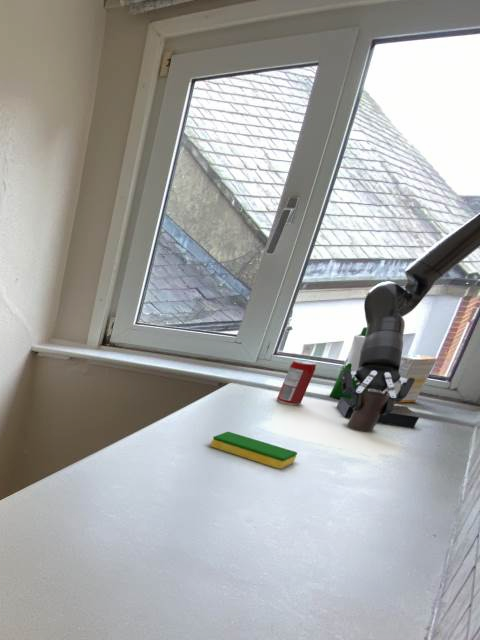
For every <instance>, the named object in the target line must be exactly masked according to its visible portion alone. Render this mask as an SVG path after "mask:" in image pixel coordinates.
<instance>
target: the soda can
mask: <svg viewBox="0 0 480 640" xmlns="http://www.w3.org/2000/svg"><path fill="white" fill-rule="evenodd" d="M316 366H317V363H316V362H315V361H311V360H306V359H294V360H293V361H292V362H291V364H290V365H289V368H288V370H287V373H286V376H285V377H284V380H283V383H282V385H281V388H280V390H279V393H278V395H277V397H276V399H277V401H278V402H279V403H281V404H285V405H289V406H290V405H291V406H297V405H300V404H302V401H303V399H304V397H305V394H306V392H307V390H308V388H309V385H310V382H311V380H312V378H313V375H314V374H315V371H316Z"/></svg>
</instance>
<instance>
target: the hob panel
mask: <svg viewBox="0 0 480 640" xmlns="http://www.w3.org/2000/svg"><path fill="white" fill-rule="evenodd" d="M350 405H351V399H350V398H343V397H341V399H340V398H339V401H338V402H337V405H336V409H337V410H338V411H339V413H340V414H341V415H342V417H343V418H345V419H346V418H347V419H350V418H351V416H352V414H353V411H354V410H353V408H351V406H350ZM419 418H420V416H418V415H417V414H416V413H415V412H413V411H412V410H411V409H410V408H409V407H408V406H403V405H397V404H394V407H393V410H392V411H391V412H390V413H388V414H386V415H382V413H381V415H380V417H379V419H378V421H377V423H378V424H384V425H389V426H390V425H391V426H396V427H402V428H409V429H415V426H416V424H417V422H418V421H419ZM377 423H376V424H377Z"/></svg>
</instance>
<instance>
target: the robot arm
mask: <svg viewBox="0 0 480 640" xmlns="http://www.w3.org/2000/svg"><path fill="white" fill-rule="evenodd" d="M479 248H480V212H479V213H477V214H476V215H475V216H474V217H472V218H471V219H470V220H468V221H466V222H465V223H464V224H462V225H461V226H459V227H458V228H456V229H455V230H453V231H452V232H450V233H449V234H447V235H446V236H444V237H443V238H441V239H440V240H439V241H437V242H436V243H434V244H433V245H432V246H431V247H429V248H428V249H427V250H426V251H425V252H423V253H422V254H421V255H420V256H419V257H418V258H417V259H416V260H414V261H413V262H412V263H410V265H408V266H407V267H406V269H405V271H404V274H405V276H406V279H407V282H406V283H405V285H404V286H403V287H402V285H400V284H399V283H397V282H394V281H383V282H379V283H378V284H376V285H375V286H373V287H372V288H371V289H370V290H368V293H367V294H366V296H365V298H364V303H363V304H364V305H363V309H364V317H365V321H366V327H367V329H366V335H365V340H364V343H363V345H362V349H361V351H360V360H359V365H358V370H357V371H351V370H349V369H346V370H345V371H344V372H343V373H342V374H341V376H340V377H341V384H342V390H343V394H349V395H351V396H352V399H351V405H350V406H351V408H353V410H356V411H357V410H358V409H359V408H360V406H361V400H362V394H361V393H362V391H363V390H364V389H365V388H366V389H375V390H380V393H383V394H386V395H388V396H390V397H389V399H388V401H387V403H386V405H385V407H384V409H383V411H382V415H386V414H388V413H390V412H391V411H392V410H393V407H394V405H395V403H394V402H395V401H396V403H401V402H400V401H401V400H402V399H403V398H405V397H406V396H407V394H408V392H409V390H410V388H411V387H412V385H413V383H414V381H415V379H414V378H409V379H406V378H403V377H401V376H400V374H399V368H400V361H401V355H403V348H404V333H405V327H406V323H405V319H404V318H403V317H405V316H407V315H408V314H410V313H411V312H413V310H414V309H416V307H417V306H419V304H420V303H421V302H422V301H423V299H424V298H425V297H426V296H427V294H428V293H429V292H430V291H431V289H433V287H434V286H435V284H436V283H437V282H438V281H439V280H440V279H442V278H443V277H444V276H445V275H447V274H448V273H449V272H451V271H452V270H453V269H454V268H455V267H457V266H458V265H459V264H460V263H461V262H463V261H464V260H465V259H467V257H469V256H470V255H471V254H473V253H474V252H475V251H476V250H478V249H479ZM354 376H355V377H356V379H357V380H358V381H359V382H360V385H359V386H358V387H357V389H355V388H354V387H353V381H352V378H353V377H354ZM395 382H398V383H399V387H400V388H401V389H400V390H399V392H398V394H396V393H395V390H394V389H395V386H394V383H395Z"/></svg>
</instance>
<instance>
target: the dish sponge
mask: <svg viewBox="0 0 480 640" xmlns="http://www.w3.org/2000/svg"><path fill="white" fill-rule="evenodd" d="M210 447H211V448H214V449H217V450H221V451H223V452H226V453H230V454H231V455H232V454H233V455H236V456H239V457H242V458H245V459H248V460H251V461H255V462H257V463H260V464H264V465H267V466H270V467H271V468H276V469H280V470H281V469H283V468H285V467H287V466H289V465H291V464H293V463H294V462H295V460H296V459H297V458H296V457H297V455H298V452H297V451H294V450H291V449H287V448H284V447H281V446H278V445H274V444H271V443H268V442H264V441H261V440H258V439H255V438H251V437H249V436H245V435H241V434H238V433H235V432H232V431H226V432H223V433H220V434H217V435H215V436H213V437H212V440H211V443H210Z"/></svg>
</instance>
